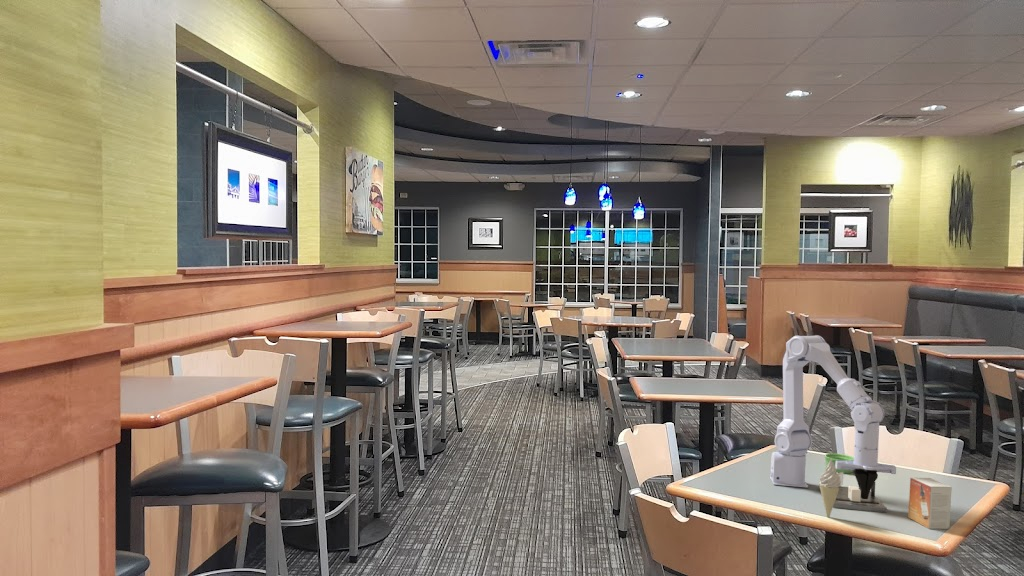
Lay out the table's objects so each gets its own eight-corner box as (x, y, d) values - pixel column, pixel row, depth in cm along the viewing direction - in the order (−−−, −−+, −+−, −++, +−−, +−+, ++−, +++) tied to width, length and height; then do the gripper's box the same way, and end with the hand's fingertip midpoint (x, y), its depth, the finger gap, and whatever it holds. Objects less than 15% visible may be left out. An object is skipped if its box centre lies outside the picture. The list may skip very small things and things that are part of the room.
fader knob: (851, 500, 190) (851, 489, 190) (847, 496, 194) (848, 485, 194) (860, 501, 190) (861, 490, 190) (857, 497, 193) (857, 486, 193)
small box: (907, 518, 182) (909, 477, 182) (928, 518, 183) (930, 477, 183) (928, 529, 174) (930, 486, 174) (950, 529, 175) (952, 486, 175)
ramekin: (860, 474, 224) (860, 460, 224) (831, 473, 224) (832, 459, 224) (847, 467, 233) (847, 453, 233) (819, 466, 233) (820, 452, 233)
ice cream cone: (837, 521, 177) (840, 461, 177) (815, 517, 180) (818, 458, 180) (840, 516, 182) (843, 457, 181) (819, 512, 184) (821, 454, 184)
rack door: (833, 491, 198) (834, 479, 198) (828, 490, 199) (829, 478, 199) (844, 484, 206) (844, 472, 206) (838, 483, 207) (839, 471, 207)
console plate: (832, 507, 189) (833, 486, 189) (818, 488, 207) (819, 468, 207) (886, 512, 186) (887, 490, 186) (867, 492, 204) (868, 473, 204)
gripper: (840, 448, 189) (838, 499, 189) (900, 453, 186) (898, 505, 186) (834, 442, 195) (832, 492, 196) (892, 447, 192) (890, 497, 193)
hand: (864, 498), depth 191 cm, fingers closed
